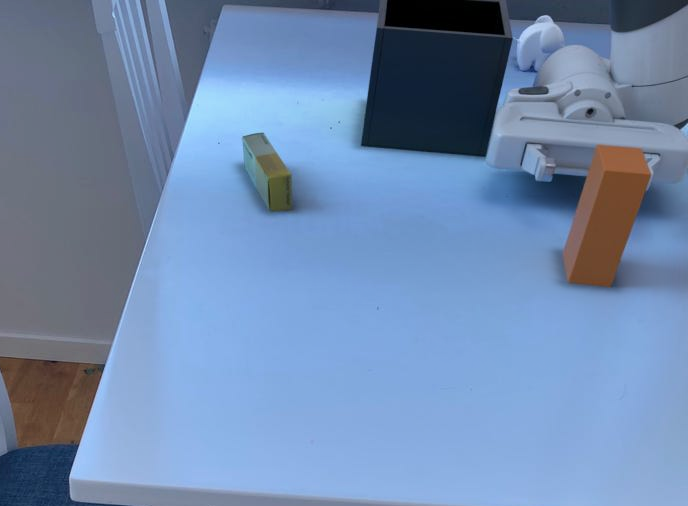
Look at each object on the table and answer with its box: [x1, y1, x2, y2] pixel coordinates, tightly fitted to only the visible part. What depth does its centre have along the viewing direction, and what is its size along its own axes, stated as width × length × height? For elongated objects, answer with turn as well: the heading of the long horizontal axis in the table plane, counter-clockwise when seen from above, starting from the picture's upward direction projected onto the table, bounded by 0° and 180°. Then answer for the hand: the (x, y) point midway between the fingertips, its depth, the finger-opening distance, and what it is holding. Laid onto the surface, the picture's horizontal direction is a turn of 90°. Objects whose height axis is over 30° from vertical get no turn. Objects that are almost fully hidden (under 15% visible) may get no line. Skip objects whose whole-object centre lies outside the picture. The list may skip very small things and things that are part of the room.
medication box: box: [241, 132, 293, 212], centre depth 102 cm, size 12×3×4 cm, turn 12°
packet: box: [562, 145, 651, 288], centre depth 88 cm, size 4×6×11 cm, turn 171°
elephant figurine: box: [513, 15, 566, 72], centre depth 131 cm, size 7×8×6 cm
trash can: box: [360, 0, 514, 158], centre depth 111 cm, size 15×15×13 cm
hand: (594, 178), depth 93 cm, fingers open, 8 cm apart
